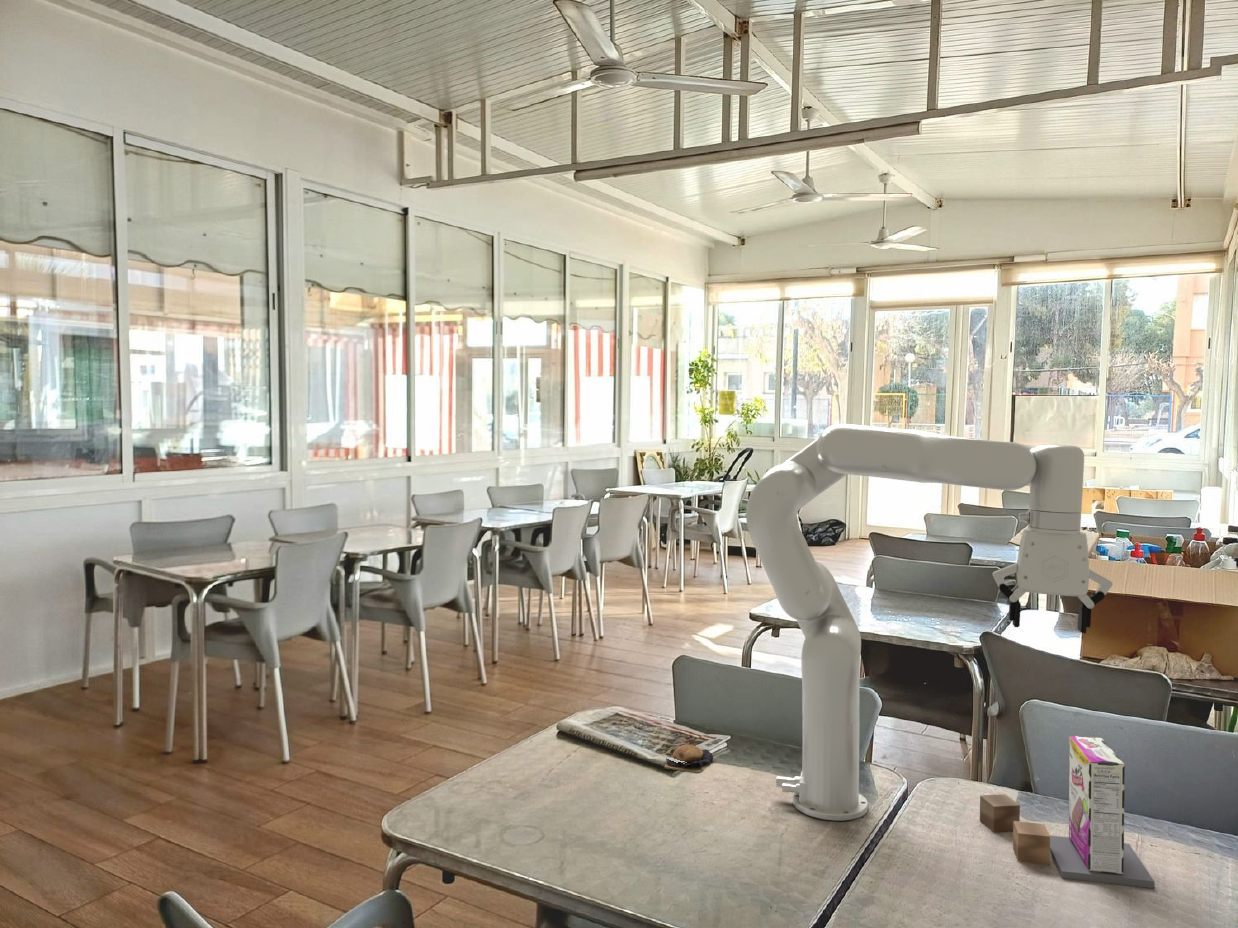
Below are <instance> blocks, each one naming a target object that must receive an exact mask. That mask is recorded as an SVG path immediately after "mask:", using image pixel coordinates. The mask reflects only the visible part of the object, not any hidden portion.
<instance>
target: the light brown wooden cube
mask: <svg viewBox="0 0 1238 928" xmlns="http://www.w3.org/2000/svg"><path fill="white" fill-rule="evenodd" d="M1050 835H1051V834H1049V831H1048V828H1047V827H1046V824H1045V823H1038V822H1037V823H1036V822H1028V821H1013V832H1012V849H1013V852H1014V855H1015V857H1016V862H1019V863H1029V864H1035V865H1036V864H1038V865H1045V866H1050V865H1051V864H1050V863H1051V861H1050V860H1051V859H1050V857H1051V854H1050Z"/></svg>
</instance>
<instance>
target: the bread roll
mask: <svg viewBox="0 0 1238 928" xmlns="http://www.w3.org/2000/svg"><path fill="white" fill-rule="evenodd" d="M672 754H673V755H672ZM672 754H671V755H669V756H668V757H673V758H674V759H677V760H680V761H685V762H687V763H685V764H683V763H681V762H678V763H676V762H674V761H671V760H669V759H667V757H666V758H665V762H666V763H665V765H664V769H667V770H675V771H679V772H680V771H682V772H687V773H693V774H701V773H702V772H703V771H704V770H706V769H707V767H708V766H709V765H710V764H711V762H712V761H713V760H714V755H713V753H712V752H710V751H709V749H707V748H705V749H701V748H700V747H698V746H696V745H694V744H681V745H679V746H677V747H676V748H675V749H674V750H673V752H672Z"/></svg>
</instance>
